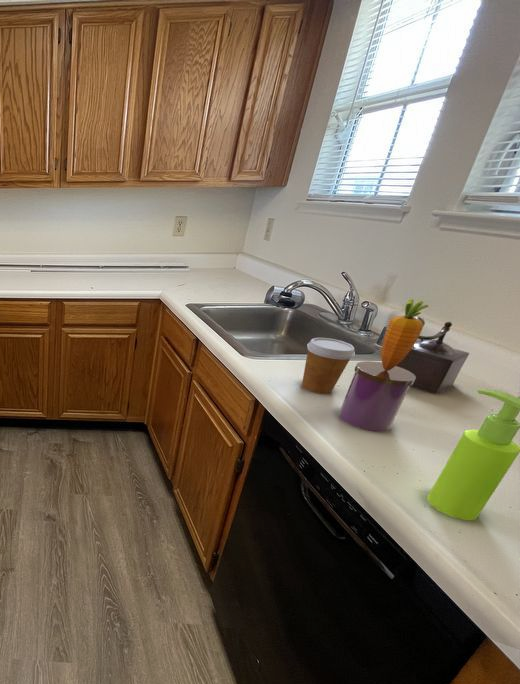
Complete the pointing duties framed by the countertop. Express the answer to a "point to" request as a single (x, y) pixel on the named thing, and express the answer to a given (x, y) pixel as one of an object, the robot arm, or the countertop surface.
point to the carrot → (401, 335)
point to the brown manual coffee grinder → (433, 362)
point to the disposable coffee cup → (325, 364)
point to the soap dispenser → (478, 462)
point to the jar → (375, 396)
